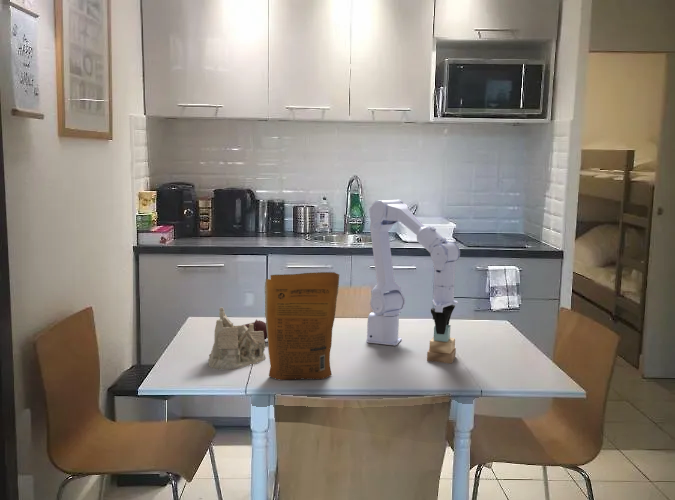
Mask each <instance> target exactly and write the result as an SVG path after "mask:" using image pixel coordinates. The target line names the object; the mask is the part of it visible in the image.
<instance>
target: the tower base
mask: <svg viewBox="0 0 675 500" xmlns="http://www.w3.org/2000/svg"><path fill="white" fill-rule="evenodd" d="M456 349H457V347H455V349H454V350H453V351H452V352H451V353H450V354H447V353H439V352H432V351H429V349H428V350H427V352H426V361H427V362H435V363H436V362H437V363H445V364H451V365H452V363H453V362H454V361H455V358H456V356H457V355H456V352H457V351H456Z"/></svg>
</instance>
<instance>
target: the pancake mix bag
mask: <svg viewBox="0 0 675 500" xmlns="http://www.w3.org/2000/svg"><path fill="white" fill-rule="evenodd" d="M339 283H340V274H338V273H337V272H333V271H332V272H331V271H328V272H327V271H322V272H321V271H320V272H318V271H317V272H303V273H292V274H289V273H287V274H286V273H285V274H270V278H265V282H264V316H265V323H266V329H267V347H268V348H267V349H268V357H269V363H270V364H269V366H270V367H269V373H268V377H269V378H272V379H274V378H276V379H275V380H278V379H280V380H279V381H292V380H293V381H294V380H295V381H296V380H299V381H300V380H324V379H327V378H329V377H331V376H332V375H333V374H332V369H331V363H330V362H331V361H330V359H331V358H330V356H331V349H332V342H333V341H332V339H333V328H334V322H335V317H336V312H337V311H336V309H337V300H338V294H339Z"/></svg>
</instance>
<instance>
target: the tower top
mask: <svg viewBox="0 0 675 500" xmlns="http://www.w3.org/2000/svg"><path fill="white" fill-rule="evenodd" d="M433 339H434V336H433V337H432V338H431V339H430V340H429V349H428V350H429V351H432V352H439V353H447V354H450V353H451V352H452V351H453V350H454V349H455V348H456V337H450V339H449V341H448V342H443V341H435V340H433Z"/></svg>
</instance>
